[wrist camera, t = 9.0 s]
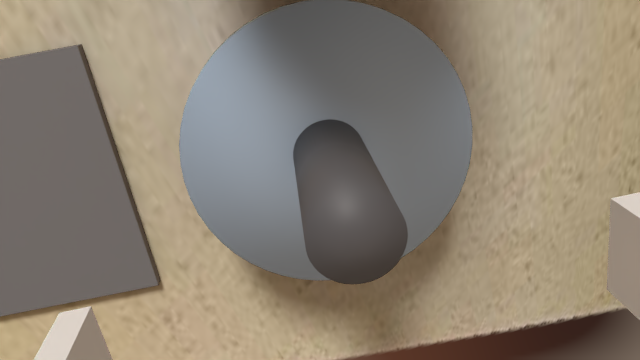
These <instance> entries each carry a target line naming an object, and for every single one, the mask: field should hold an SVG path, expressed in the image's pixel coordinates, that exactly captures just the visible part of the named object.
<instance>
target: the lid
mask: <svg viewBox="0 0 640 360" xmlns="http://www.w3.org/2000/svg"><path fill="white" fill-rule="evenodd" d="M179 148H180V162H181V168H182V173H183V177H184V182H185V185H186V188H187V190H188V193H189V196H190V199H191V201H192V203H193V204H194V206H195V208H196V210H197V212H198V214H199V216H200V217H201V218H202V220H203V221H204V223H205V224H206V225H207V227H208V228H209V229H210V231H211V232H212V233H213V234H214V235H215V236H216V237H217V238H218V239H219V240H220V241H221V242H222V243H223V244H224V245H225V246H227V247H228V248H229V249H230V250H232V251H233V252H234V253H235V254H237V255H238V256H240V257H242V258H243V259H245V260H246V261H248V262H250V263H252V264H254V265H256V266H258V267H260V268H262V269H264V270H267V271H270V272H273V273H276V274H279V275H282V276H287V277H292V278H297V279H305V280H333V281H336V282H339V283H344V284H361V283H366V282H370V281H373V280H376V279H378V278H380V277H382V276H383V275H385V274H386V273H388V272H389V271H390V270H391V269H392V268H393V267H394V266H395V265H396V264H397V263H398V262H399V260H400V259H401V258H402V257H403V256H405V255H406V254H408V253H409V252H411V251H412V250H414V249H415V248H416V247H417V246H419V245H420V244H421V243H422V242H423V241H424V240H426V239H427V238H428V237H429V236H430V235H431V234H432V233H433V232H434V230H435V229H436V228H437V227H438V226H439V225H440V224H441V222H442V221H443V220H444V218H445V217H446V216H447V214H448V213H449V212H450V210H451V208H452V206H453V205H454V203H455V201H456V199H457V198H458V196H459V193H460V191H461V188H462V186H463V184H464V181H465V178H466V175H467V171H468V167H469V164H470V157H471V150H472V121H471V114H470V108H469V104H468V100H467V97H466V93H465V90H464V88H463V86H462V83H461V81H460V79H459V77H458V74H457V73H456V71H455V69H454V68H453V66H452V65H451V63H450V61H449V60H448V58H447V57H446V56H445V54H444V53H443V52H442V51H441V50H440V49H439V47H438V46H437V45H436V44H435V43H434V42H433V41H432V40H431V39H430V38H429V37H428V36H426V35H425V34H424V33H423V32H422V31H421V30H419V29H418V28H416V27H415V26H413V25H412V24H410V23H409V22H407V21H406V20H404V19H402V18H400V17H398V16H396V15H394V14H392V13H390V12H388V11H385V10H383V9H381V8H378V7H374V6H371V5H368V4H365V3H361V2H355V1H349V0H308V1H300V2H296V3H293V4H289V5H285V6H281V7H279V8H276V9H274V10H271V11H269V12H267V13H264V14H262V15H260V16H258V17H257V18H255V19H253V20H252V21H250V22H248V23H246V24H245V25H243V26H242V27H241V28H240V29H238V30H237V31H236V32H235V33H233V34H232V35H231V36H229V37H228V38H227V39H226V40H225V42H224V43H223V44H222V45H221V46H220V47H219V48H218V49H217V50H216V51H215V52H214V53H213V55H212V56H211V58H210V59H209V60H208V62H207V63H206V64H205V66H204V67H203V69H202V71H201V72H200V74H199V76H198V78H197V80H196V82H195V84H194V85H193V87H192V89H191V92H190V95H189V97H188V100H187V103H186V105H185V108H184V113H183V118H182V123H181V128H180V143H179Z"/></svg>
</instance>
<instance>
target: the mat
mask: <svg viewBox="0 0 640 360" xmlns="http://www.w3.org/2000/svg"><path fill="white" fill-rule="evenodd" d="M159 282H160V278H159V275H158V272H157V269H156V266H155V263H154V260H153V257H152V254H151V251H150V248H149V245H148V242H147V239H146V236H145V233H144V230H143V227H142V224H141V221H140V218H139V215H138V212H137V209H136V206H135V203H134V200H133V197H132V194H131V191H130V188H129V185H128V182H127V179H126V176H125V173H124V170H123V167H122V164H121V161H120V158H119V155H118V152H117V149H116V146H115V143H114V140H113V137H112V134H111V131H110V128H109V125H108V122H107V119H106V116H105V113H104V110H103V107H102V104H101V102H100V99H99V96H98V93H97V90H96V87H95V84H94V81H93V78H92V75H91V72H90V69H89V66H88V63H87V60H86V57H85V54H84V51H83V48H82V45H81V44H80V45H74V46H69V47H64V48H58V49H53V50H48V51H42V52H37V53H32V54H27V55H21V56H16V57H11V58H5V59H0V316H5V315H10V314H15V313H20V312H25V311H30V310H35V309H40V308H45V307H50V306H56V305H61V304H66V303H71V302H76V301H81V300H86V299H91V298H96V297H101V296H106V295H111V294H116V293H121V292H126V291H132V290H137V289H142V288H147V287H152V286H157V285H159Z"/></svg>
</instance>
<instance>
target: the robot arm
mask: <svg viewBox="0 0 640 360" xmlns="http://www.w3.org/2000/svg"><path fill="white" fill-rule="evenodd" d="M607 290H608V291H609V292H610V293H611V294H612V295H613V296H614V297H615V298H617V299H618V300H619V301H620V302H621V303H622V304H623V305H624V306H625V307H626V308H627V309H628V310H629V311H630V312H632V314H634V315H635V316H636V317H637V318H638V319H639V320H640V192H639V193H635V194H630V195H625V196H620V197H615V198H611V203H610V227H609V250H608V273H607ZM34 360H113V359H112V357H111V354H110V352H109V350H108V347H107V345H106V342H105V340H104V337H103V335H102V332H101V330H100V327H99V325H98V322H97V320H96V318H95V315H94V313H93V310H92V308H91V306H90V307H85V308H80V309H75V310H71V311H66V312H61V313H59V315H58V316H57V318H56V320H55V322H54V324H53V325H52V327H51V329H50V331H49V333H48V335H47V336H46V338H45V340H44V342H43V344H42V345H41V347H40V349H39V351H38V353H37V355H36V356H35V358H34Z"/></svg>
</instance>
